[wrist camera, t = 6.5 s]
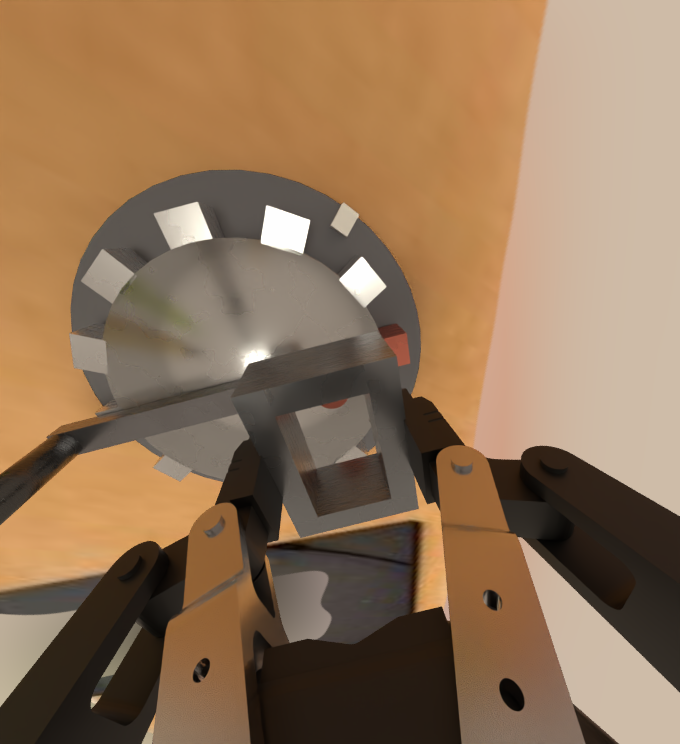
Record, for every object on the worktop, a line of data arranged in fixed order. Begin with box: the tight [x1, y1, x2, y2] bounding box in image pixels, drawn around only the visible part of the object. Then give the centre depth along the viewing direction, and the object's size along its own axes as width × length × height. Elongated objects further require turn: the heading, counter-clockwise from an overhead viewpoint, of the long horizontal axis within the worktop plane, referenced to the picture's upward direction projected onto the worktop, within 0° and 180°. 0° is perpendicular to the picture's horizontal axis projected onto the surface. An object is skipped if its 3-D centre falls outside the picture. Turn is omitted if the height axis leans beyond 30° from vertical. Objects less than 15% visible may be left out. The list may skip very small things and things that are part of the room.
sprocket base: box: [71, 170, 421, 482], centre depth 18 cm, size 22×22×2 cm
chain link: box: [230, 331, 419, 538], centre depth 10 cm, size 7×5×2 cm
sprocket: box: [0, 202, 410, 525], centre depth 14 cm, size 19×21×8 cm
